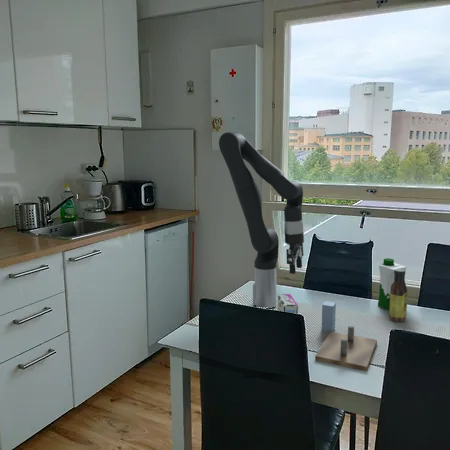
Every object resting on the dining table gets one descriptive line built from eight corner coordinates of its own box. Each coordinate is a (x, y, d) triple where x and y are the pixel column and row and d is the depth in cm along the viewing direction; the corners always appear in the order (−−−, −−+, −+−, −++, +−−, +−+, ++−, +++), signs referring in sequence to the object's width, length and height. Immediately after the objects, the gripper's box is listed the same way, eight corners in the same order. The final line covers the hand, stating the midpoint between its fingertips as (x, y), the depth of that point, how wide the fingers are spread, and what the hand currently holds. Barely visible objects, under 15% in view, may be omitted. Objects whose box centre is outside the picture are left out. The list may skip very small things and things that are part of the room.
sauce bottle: (407, 323, 168) (410, 273, 164) (390, 322, 169) (393, 272, 166) (404, 316, 174) (407, 268, 171) (387, 315, 176) (390, 267, 172)
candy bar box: (297, 351, 148) (298, 305, 145) (283, 352, 148) (283, 305, 144) (290, 336, 159) (290, 293, 156) (276, 337, 158) (276, 293, 155)
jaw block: (321, 330, 164) (322, 304, 162) (324, 326, 167) (325, 301, 165) (332, 332, 162) (333, 306, 160) (335, 327, 165) (335, 302, 163)
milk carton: (389, 301, 190) (391, 256, 186) (406, 308, 182) (409, 262, 178) (374, 305, 186) (376, 259, 182) (391, 312, 178) (394, 265, 174)
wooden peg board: (315, 360, 142) (315, 341, 140) (330, 335, 159) (330, 318, 158) (366, 371, 135) (367, 351, 133) (376, 343, 152) (377, 326, 151)
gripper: (290, 228, 184) (292, 265, 187) (278, 234, 172) (281, 275, 175) (308, 228, 181) (310, 266, 184) (297, 235, 169) (299, 276, 171)
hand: (296, 270), depth 179 cm, fingers open, 8 cm apart
